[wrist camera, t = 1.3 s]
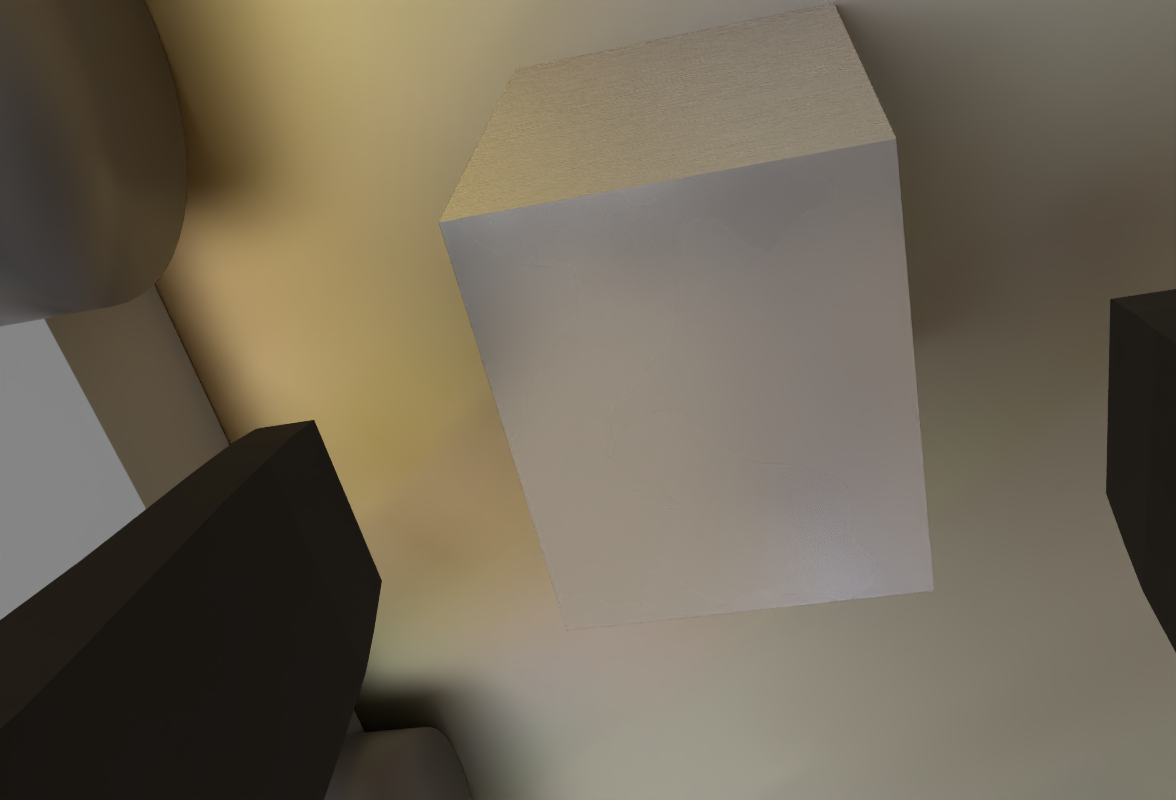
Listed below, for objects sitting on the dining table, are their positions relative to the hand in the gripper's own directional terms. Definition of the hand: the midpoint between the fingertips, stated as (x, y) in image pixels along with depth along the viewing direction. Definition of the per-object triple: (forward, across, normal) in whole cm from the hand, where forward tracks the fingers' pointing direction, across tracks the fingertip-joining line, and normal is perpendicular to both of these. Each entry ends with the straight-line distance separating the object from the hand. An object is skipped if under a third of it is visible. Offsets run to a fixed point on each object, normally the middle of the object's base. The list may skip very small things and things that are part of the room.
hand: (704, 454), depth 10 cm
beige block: (+6, 0, 0) cm, 6 cm away
